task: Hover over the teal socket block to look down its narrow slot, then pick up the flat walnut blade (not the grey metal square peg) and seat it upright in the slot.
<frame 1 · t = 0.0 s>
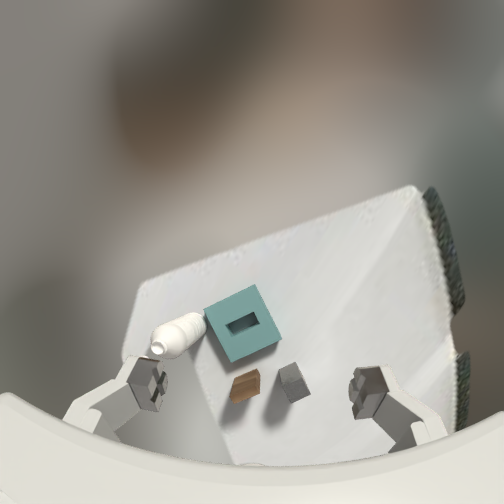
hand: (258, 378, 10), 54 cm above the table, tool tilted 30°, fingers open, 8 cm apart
socket block: (243, 322, 64), on the table
square metal peg: (290, 372, 62), on the table
water bottle: (191, 328, 64), on the table
walnut blade: (247, 376, 62), on the table
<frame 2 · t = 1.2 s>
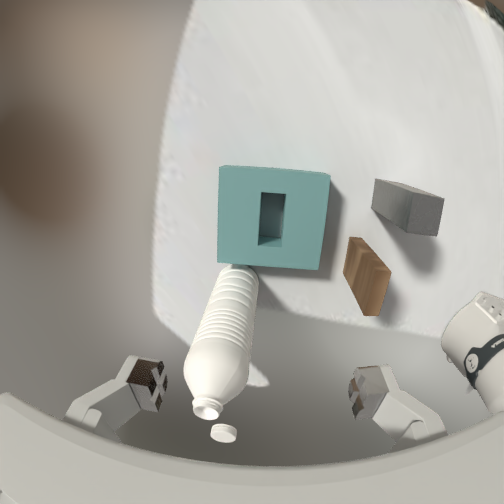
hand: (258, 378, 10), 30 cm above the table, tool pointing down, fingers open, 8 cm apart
socket block: (271, 213, 39), on the table
square metal peg: (386, 195, 36), on the table
water bottle: (240, 287, 44), on the table
walnut blade: (352, 255, 40), on the table
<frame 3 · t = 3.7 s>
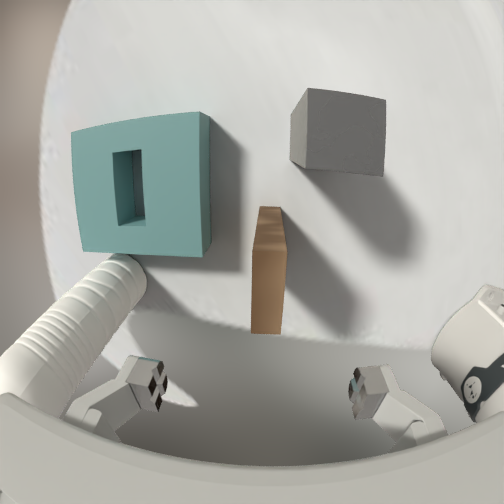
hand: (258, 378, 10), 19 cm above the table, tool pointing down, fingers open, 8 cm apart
socket block: (146, 182, 26), on the table
square metal peg: (313, 138, 24), on the table
water bottle: (129, 283, 31), on the table
walnut blade: (268, 235, 28), on the table
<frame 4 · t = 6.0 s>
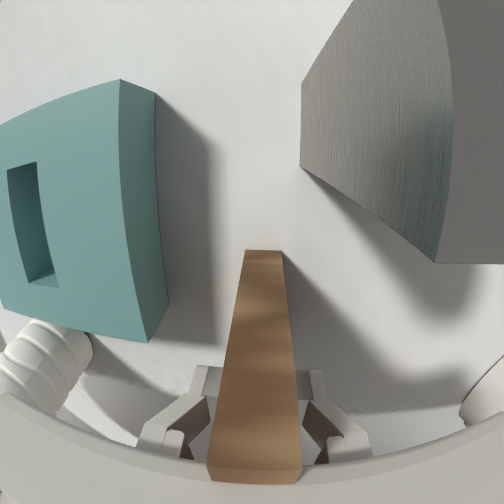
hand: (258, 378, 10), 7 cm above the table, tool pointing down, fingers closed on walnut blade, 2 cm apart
socket block: (67, 209, 15), on the table
square metal peg: (343, 127, 12), on the table
water bottle: (73, 343, 20), on the table
walnut blade: (261, 296, 16), on the table, touching gripper
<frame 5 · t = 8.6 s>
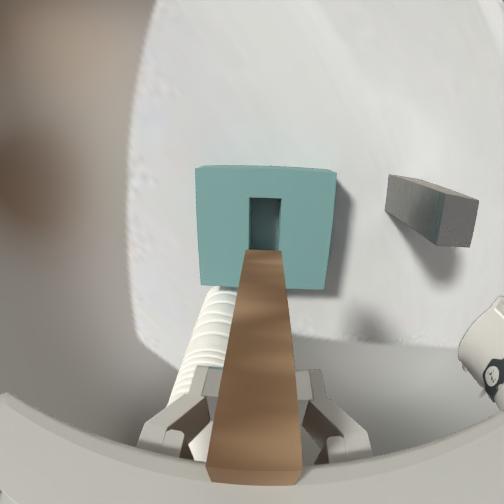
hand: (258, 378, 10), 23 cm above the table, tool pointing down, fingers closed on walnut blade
socket block: (264, 221, 32), on the table
square metal peg: (402, 194, 29), on the table
water bottle: (232, 308, 37), on the table
walnut blade: (261, 296, 16), point 16 cm above the table, touching gripper
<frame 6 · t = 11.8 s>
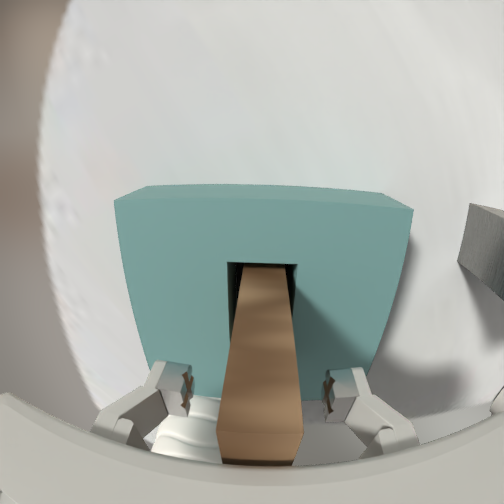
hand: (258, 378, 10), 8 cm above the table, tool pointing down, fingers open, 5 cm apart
socket block: (261, 288, 17), on the table
square metal peg: (481, 234, 15), on the table
water bottle: (213, 398, 22), on the table
walnut blade: (262, 287, 17), resting in socket block
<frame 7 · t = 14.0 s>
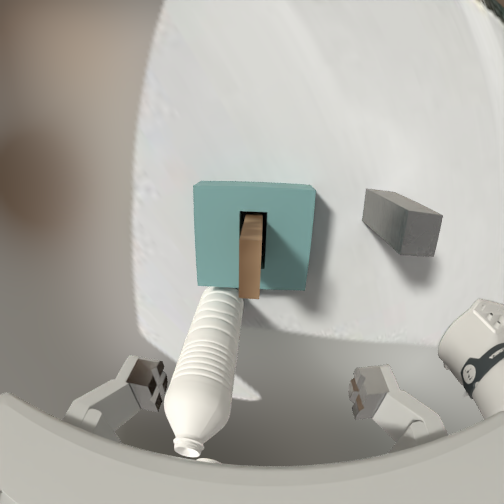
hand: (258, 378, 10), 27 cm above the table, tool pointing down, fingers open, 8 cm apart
socket block: (253, 230, 36), on the table
square metal peg: (378, 206, 34), on the table
water bottle: (225, 306, 41), on the table
walnut blade: (254, 230, 36), resting in socket block
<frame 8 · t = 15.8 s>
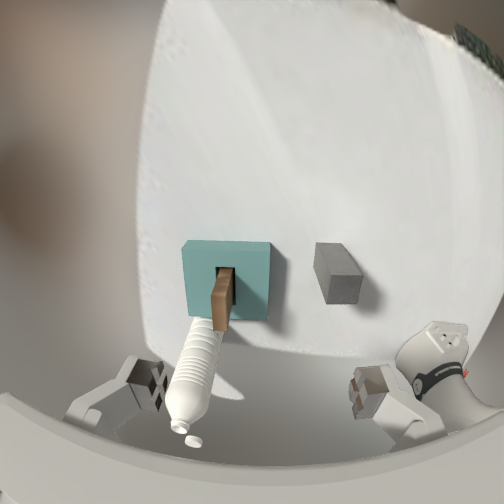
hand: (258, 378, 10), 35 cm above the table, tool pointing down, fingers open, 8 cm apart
socket block: (228, 275, 48), on the table
square metal peg: (327, 255, 46), on the table
water bottle: (211, 328, 53), on the table
walnut blade: (229, 275, 48), resting in socket block
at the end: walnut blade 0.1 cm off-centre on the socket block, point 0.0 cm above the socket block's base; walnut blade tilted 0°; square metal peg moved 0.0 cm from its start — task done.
